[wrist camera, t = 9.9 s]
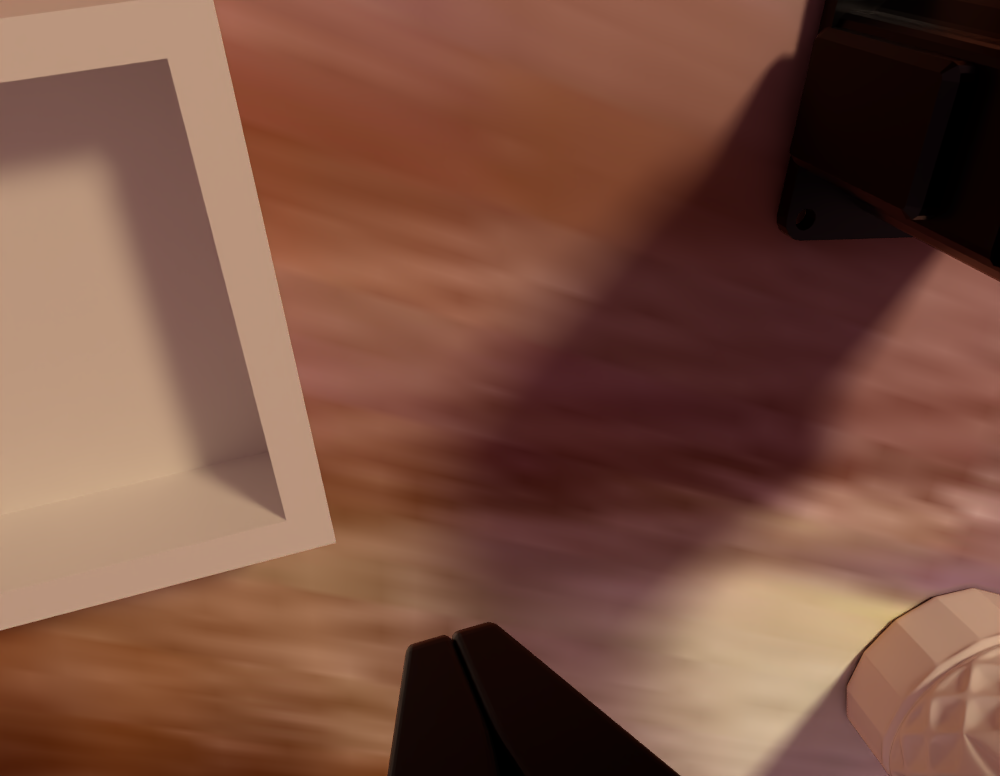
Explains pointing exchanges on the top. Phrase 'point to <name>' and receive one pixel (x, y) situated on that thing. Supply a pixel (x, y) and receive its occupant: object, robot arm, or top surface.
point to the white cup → (933, 689)
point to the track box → (137, 316)
